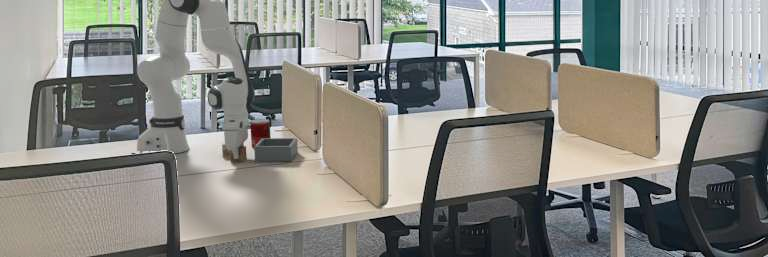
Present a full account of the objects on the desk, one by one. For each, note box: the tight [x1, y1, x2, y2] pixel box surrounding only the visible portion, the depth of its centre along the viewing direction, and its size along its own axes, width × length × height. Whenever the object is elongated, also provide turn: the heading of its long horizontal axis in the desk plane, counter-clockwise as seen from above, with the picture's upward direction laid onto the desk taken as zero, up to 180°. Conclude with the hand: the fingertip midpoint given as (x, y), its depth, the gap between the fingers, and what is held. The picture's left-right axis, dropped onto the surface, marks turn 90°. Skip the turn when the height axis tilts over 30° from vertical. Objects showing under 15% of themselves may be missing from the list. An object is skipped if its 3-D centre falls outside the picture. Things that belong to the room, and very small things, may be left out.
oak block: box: [221, 141, 230, 158], centre depth 284 cm, size 5×5×5 cm
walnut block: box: [229, 145, 248, 163], centre depth 275 cm, size 5×5×5 cm
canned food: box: [250, 118, 271, 149], centre depth 295 cm, size 8×8×11 cm
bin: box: [253, 137, 299, 163], centre depth 278 cm, size 14×14×6 cm
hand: (238, 156), depth 275 cm, fingers closed on walnut block, 5 cm apart
